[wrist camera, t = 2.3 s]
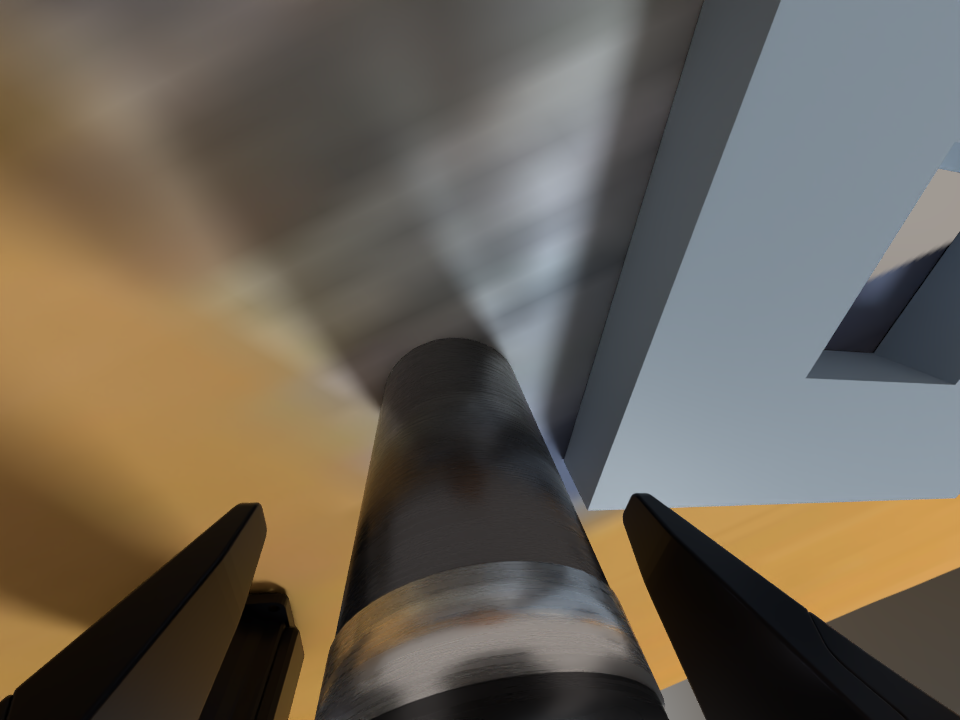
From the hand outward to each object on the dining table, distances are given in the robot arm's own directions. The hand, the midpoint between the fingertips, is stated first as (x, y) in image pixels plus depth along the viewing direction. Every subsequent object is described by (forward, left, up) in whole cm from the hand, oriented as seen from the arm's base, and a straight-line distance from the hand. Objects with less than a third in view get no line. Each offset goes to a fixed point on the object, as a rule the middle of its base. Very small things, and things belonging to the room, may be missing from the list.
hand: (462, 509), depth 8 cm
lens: (0, 0, -5) cm, 5 cm away
